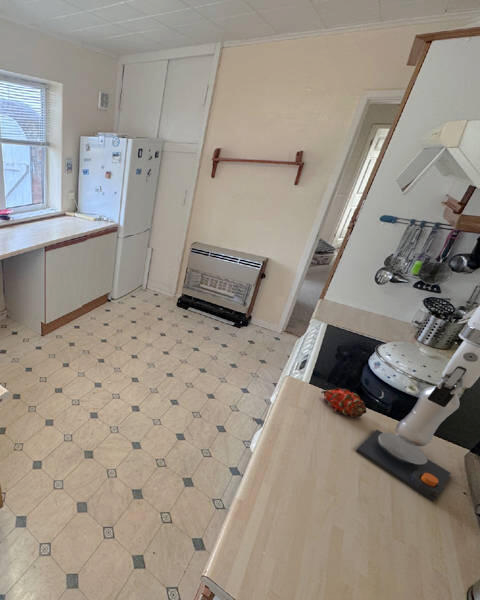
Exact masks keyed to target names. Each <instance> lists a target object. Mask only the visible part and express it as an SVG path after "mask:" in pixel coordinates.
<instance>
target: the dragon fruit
mask: <svg viewBox="0 0 480 600" xmlns="http://www.w3.org/2000/svg"><path fill="white" fill-rule="evenodd" d="M320 393H321V394H323V396H324V397H323V401H324V402H325V404H327V406H329V407H333V408H334V412H335V413H337V414H343V415H345V416H351V417H352V418H354V419H355V418H360V417H362V416H363V415H365V414H366V413H367V407H366V405H365V404H366V403H365V402H364V401H363V399H361V397H360V395H358V394H357V393H356V392H353V391H352V392H351V390H349V389H347V388H340V387H336V388H335V389H329V390H322V391H321V392H320Z"/></svg>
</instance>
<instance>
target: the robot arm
mask: <svg viewBox="0 0 480 600" xmlns="http://www.w3.org/2000/svg"><path fill="white" fill-rule="evenodd" d="M458 337H459V338H460V339H461V340H463V341H462V342H461V344H460V345H459V346H458V348H457V349H456V351H455V352H454V353H453V355H452V356H451V358H450V360H449V362H448V363H447V364H446V366H445V368H444V370H443V371H442V372H441V373H442V374H441V378H442V377H443V378H444V379H443V380H442V382H441V383H440V384H439V386H437V385H435V386H436V387H435V389H434V390H433V391H432V393H431V394H430V396H429V397H428V400H430V401H432V402H434V403H436V404H438V405H440V406H442V407H446V406H447V404H448V403H449V402H450V400H451V399H452V398H453V397H454V395H455V394H454V393H455V391H456V390H457V389H458V388H459V386H460V385H461V384H462V385H463V387H465V388H467V389H469V388H470V389H471V388H472V387H473V385H474V384H475V383H476V382H477V381H478V379H479V378H480V305H479V306H478V307H477V308H476V310H475V311H474V313H473V314H472V315H471V317H470V318H469V319H468V321H467V322H466V324H465V325H464V326H463V328H462V329H461V330H460V332H459V333H458ZM447 380H448V381H447ZM446 381H447V382H446ZM457 381H458V382H457ZM459 382H460V383H459ZM454 384H457V385H456V386H454Z"/></svg>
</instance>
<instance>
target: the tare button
mask: <svg viewBox="0 0 480 600" xmlns="http://www.w3.org/2000/svg"><path fill="white" fill-rule="evenodd" d="M421 480H422V481H423V482H424V483H425V484H427V485H429V486H431V487H435V485H436V484H437V483H438V482H439V481H438V479H437V478H436V477H435V476H433V475H432V474H429V473H424V474H423V476H422V477H421Z"/></svg>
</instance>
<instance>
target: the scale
mask: <svg viewBox="0 0 480 600" xmlns="http://www.w3.org/2000/svg"><path fill="white" fill-rule="evenodd" d="M382 433H383V432H382V431H381V430H379V429H375V430H374V431H373V432H372V434H371V435H369V436H368V437H367V438H366V439H365V440H364V442H363V443H361V444H360V446H358V447H357V448H356V449H355V452H356V453H358V454H359V455H361V456H362V457H364V458H365V459H366V460H368V461H370V462H371V463H373V464H374V465H376V466H377V467H379V468H380V469H382V470H384V471H385V472H387V473H388V474H389V475H391V476H392V477H394V478H395V479H397V480H399V481H400V482H401V483H403V484H405V485H406V486H408V487H409V488H410V489H412V490H414V491H415V492H417V493H418V494H420V495H421V496H423V497H424V498H426V499H427V500H429V501H430V502H432V503H433V502H434V501H435V500H436V498H437V497H439V496H441V495H442V493H444V491H445V487H444V486H445V484H446V482H447V480H448V479H449V477H450V476H451V474H452V472H450V471H448V470H447V469H445V468H443V467H442V466H440V465H438V464H437V463H435V462H433V461H432V460H430V459H428V458H427V463H426V464H425V465H423V466H413V465H410V464H407V463H404V462H402V461H400V460H398V459H396V458H395V457H393V456H392V455H390V454H389V453H388V452H386V451H385V450H384V449H383V448H382V447H381V445H380V444H379V442H378V437H379V435H380V434H382ZM424 473H429V474H432V475H433V476H435V477H436V478H437V479H438V481H439V482H438V483H437V484H436V485H435V487H431V486H429V485H427V484H425V483H424V482H423V481H422V480H421V477H422V476H423V474H424Z"/></svg>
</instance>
